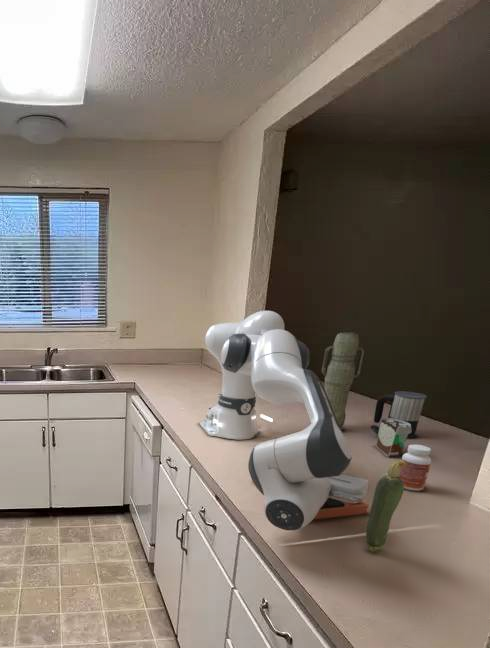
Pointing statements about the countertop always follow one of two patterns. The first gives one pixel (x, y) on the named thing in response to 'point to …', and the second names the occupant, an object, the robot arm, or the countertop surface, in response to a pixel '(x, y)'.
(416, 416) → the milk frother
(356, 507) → the tray
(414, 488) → the pill bottle
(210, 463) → the countertop surface
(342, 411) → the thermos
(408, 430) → the food container
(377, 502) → the vegetable
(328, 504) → the block
